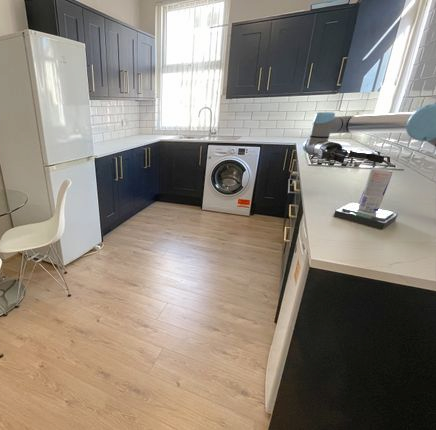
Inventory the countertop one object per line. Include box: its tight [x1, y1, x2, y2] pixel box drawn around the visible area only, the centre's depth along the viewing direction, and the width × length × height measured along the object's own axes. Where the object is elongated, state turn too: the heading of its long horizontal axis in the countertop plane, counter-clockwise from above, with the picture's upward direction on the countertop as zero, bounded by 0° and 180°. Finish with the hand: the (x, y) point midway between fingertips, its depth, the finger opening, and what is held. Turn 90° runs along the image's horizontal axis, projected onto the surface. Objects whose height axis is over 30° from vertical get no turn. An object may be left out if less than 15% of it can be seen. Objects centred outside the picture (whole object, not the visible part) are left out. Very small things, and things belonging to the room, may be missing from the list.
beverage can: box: [358, 167, 394, 212], centre depth 98 cm, size 6×6×15 cm
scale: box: [333, 202, 399, 231], centre depth 101 cm, size 14×14×3 cm
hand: (362, 159), depth 104 cm, fingers open, 13 cm apart
